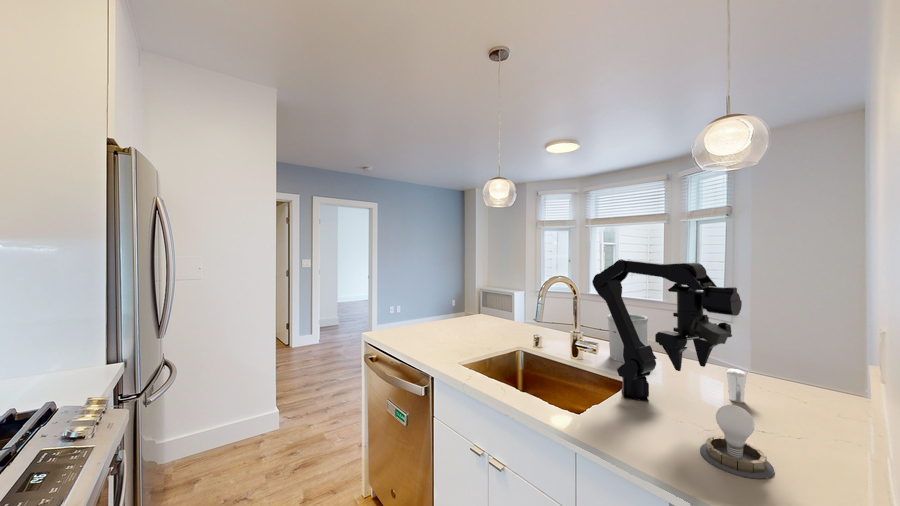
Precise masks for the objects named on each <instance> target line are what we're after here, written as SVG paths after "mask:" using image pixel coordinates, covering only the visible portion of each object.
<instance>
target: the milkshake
mask: <svg viewBox="0 0 900 506" xmlns="http://www.w3.org/2000/svg"><path fill="white" fill-rule="evenodd" d="M749 372H750V369H748V371H747V372H745V371H743V370H741V369H736V368H729V369H727V370H726V379H727V387H728V396H729V397H728V398H729V400H730V401H731V402H734V403H740V404H741V403H742V404H743V403H744V402H745V401H744V400H745V391H746V390H745V389H746V383H747V375H748V373H749Z"/></svg>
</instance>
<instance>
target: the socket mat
mask: <svg viewBox="0 0 900 506" xmlns="http://www.w3.org/2000/svg"><path fill="white" fill-rule="evenodd" d="M715 449H716V450H718V451H720V452H721V453H723V454H725V455H728V454H727V448H723V447H720V448H715ZM699 453H700V455H701V457H702V458H703V459H704V460H706V461H707V462H708V463H709V464H710V465H713V466H714V467H715V468H717V469H720V470H722V471H724V472H727V473H729V474H732V475H735V476H738V477H741V478H747V479H752V480H753V479H755V480H766V479H770V478H773V476H774V475H775V469H774V466H773V465H772V463H770V462H769V461H768V460H767V467H766V470H765V472H761V473H747V472H742V471H738V470H734V469H731V468H729V467H726V466H724V465H722V464H720V463H718V462H716V461H715V460H713V459H712V458H710V457H709V455H708V453H707V452H706V443H704V444H702V445H701V446H700V448H699ZM728 456H730V455H728ZM741 459H742V460H748V461H753V460H756V459H755V458H753V457H751V456H749V455H748V454H746V453H743V458H741Z"/></svg>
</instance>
